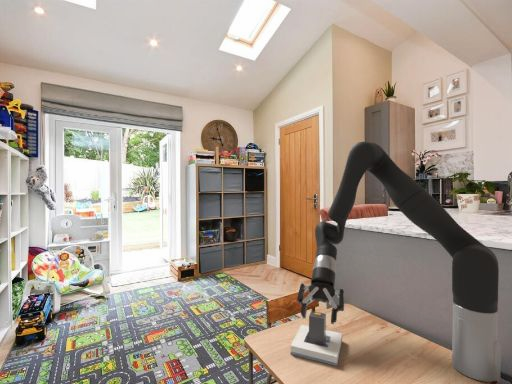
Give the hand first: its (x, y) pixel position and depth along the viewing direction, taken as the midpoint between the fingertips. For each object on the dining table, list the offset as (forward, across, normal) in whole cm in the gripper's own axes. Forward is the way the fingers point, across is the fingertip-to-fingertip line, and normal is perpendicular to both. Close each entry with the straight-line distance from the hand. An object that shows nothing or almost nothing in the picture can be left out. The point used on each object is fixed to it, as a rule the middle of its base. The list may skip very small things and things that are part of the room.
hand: (317, 320), depth 81 cm
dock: (+6, 0, +6) cm, 8 cm away
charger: (+5, 0, +5) cm, 7 cm away
